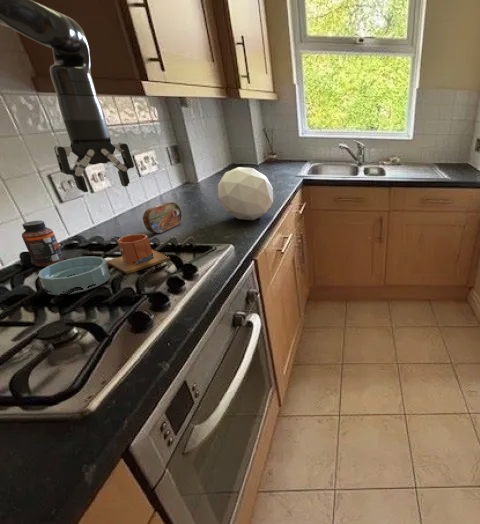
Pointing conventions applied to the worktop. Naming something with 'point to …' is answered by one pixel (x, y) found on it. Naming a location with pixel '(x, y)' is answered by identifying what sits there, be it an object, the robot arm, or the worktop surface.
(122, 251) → the small bowl
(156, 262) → the board
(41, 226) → the supplement bottle
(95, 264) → the big bowl
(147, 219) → the tin
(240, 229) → the worktop surface
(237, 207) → the ball
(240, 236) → the worktop surface
